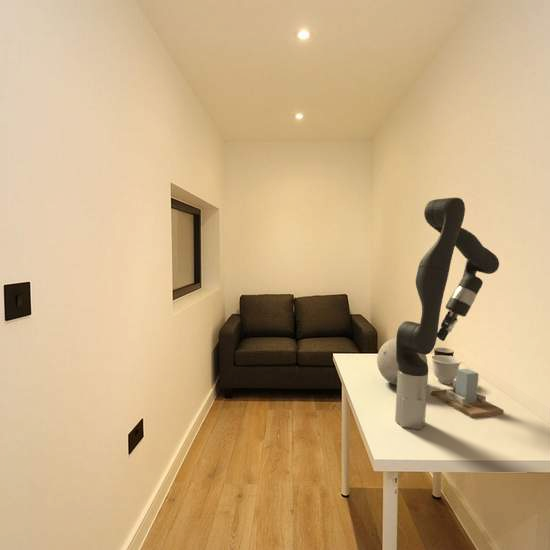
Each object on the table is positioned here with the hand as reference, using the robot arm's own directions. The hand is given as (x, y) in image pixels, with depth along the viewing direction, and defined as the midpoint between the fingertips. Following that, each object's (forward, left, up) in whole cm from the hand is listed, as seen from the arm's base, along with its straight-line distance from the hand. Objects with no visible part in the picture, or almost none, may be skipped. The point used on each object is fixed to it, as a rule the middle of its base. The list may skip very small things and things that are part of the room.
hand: (439, 339), depth 133 cm
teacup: (+25, -8, -24) cm, 35 cm away
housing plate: (+1, -10, -24) cm, 26 cm away
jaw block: (+1, -10, -22) cm, 25 cm away
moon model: (+13, +12, -24) cm, 30 cm away
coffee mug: (+41, -10, -24) cm, 48 cm away
